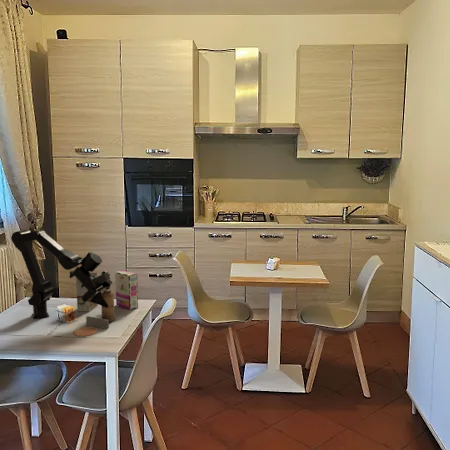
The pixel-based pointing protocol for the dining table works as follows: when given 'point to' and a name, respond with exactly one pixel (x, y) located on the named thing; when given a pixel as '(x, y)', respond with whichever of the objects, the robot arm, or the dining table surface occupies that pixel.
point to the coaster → (85, 331)
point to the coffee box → (80, 292)
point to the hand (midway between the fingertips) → (110, 305)
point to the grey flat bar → (97, 322)
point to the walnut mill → (109, 311)
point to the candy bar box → (126, 289)
